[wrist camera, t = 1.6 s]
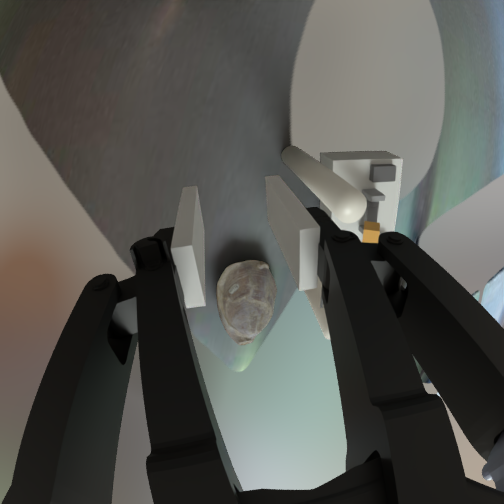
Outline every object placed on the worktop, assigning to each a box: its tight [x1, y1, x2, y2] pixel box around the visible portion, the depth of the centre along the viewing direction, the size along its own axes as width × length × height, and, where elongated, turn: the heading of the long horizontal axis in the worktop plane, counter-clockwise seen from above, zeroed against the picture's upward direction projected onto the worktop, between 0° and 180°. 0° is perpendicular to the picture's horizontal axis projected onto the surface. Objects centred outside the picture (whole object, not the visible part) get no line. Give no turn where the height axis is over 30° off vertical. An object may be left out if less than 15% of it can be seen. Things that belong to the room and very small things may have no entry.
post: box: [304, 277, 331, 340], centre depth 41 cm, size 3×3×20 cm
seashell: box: [216, 260, 277, 345], centre depth 50 cm, size 9×12×15 cm
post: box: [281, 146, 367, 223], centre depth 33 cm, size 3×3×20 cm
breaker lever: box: [362, 199, 380, 243], centre depth 38 cm, size 4×2×10 cm, turn 5°
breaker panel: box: [320, 151, 403, 242], centre depth 43 cm, size 16×12×8 cm
